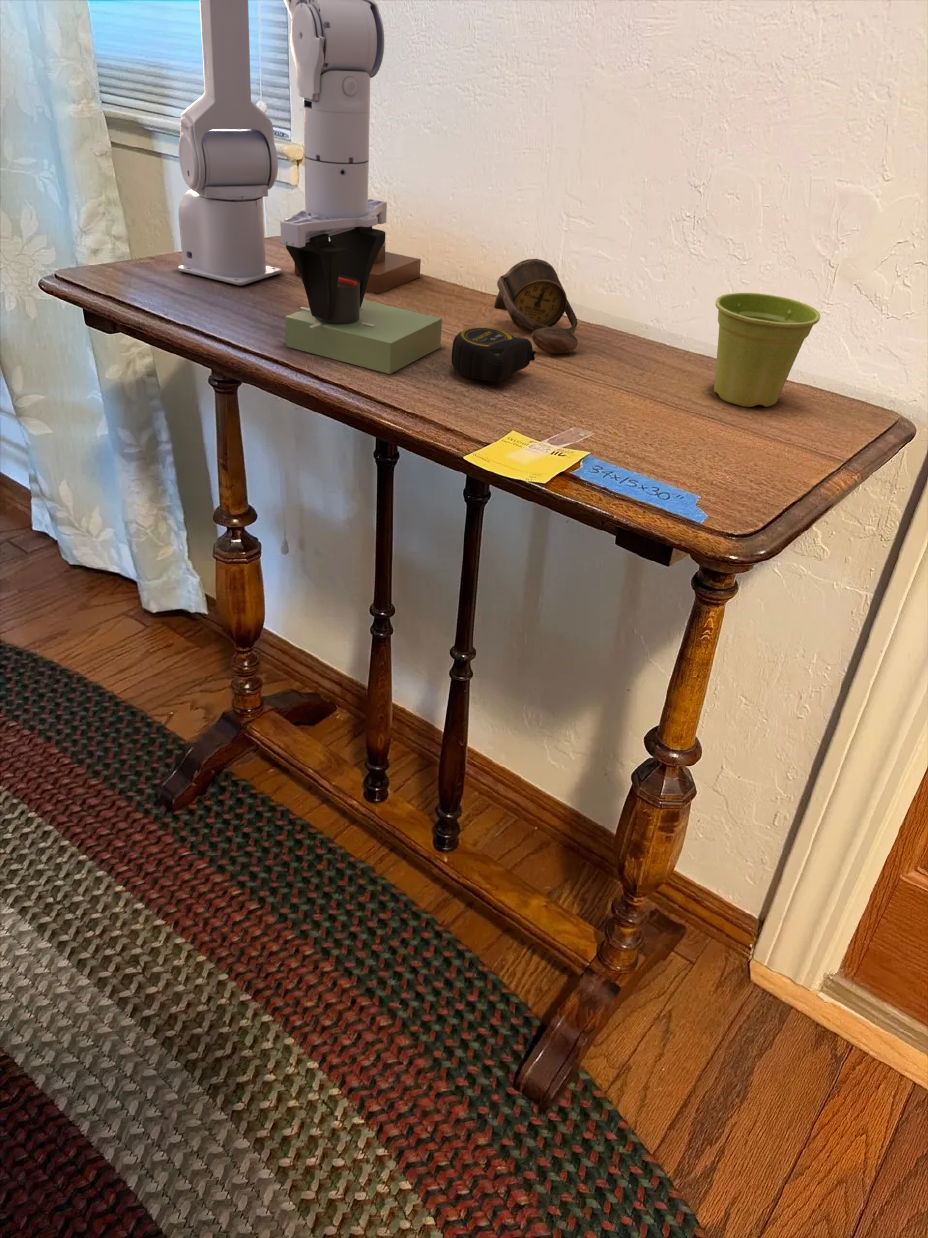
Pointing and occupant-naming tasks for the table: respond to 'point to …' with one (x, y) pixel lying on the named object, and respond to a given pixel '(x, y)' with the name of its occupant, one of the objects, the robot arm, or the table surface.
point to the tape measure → (490, 353)
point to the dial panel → (367, 336)
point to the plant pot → (758, 345)
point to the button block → (390, 271)
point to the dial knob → (346, 301)
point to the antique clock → (537, 304)
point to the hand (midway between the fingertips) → (336, 311)
